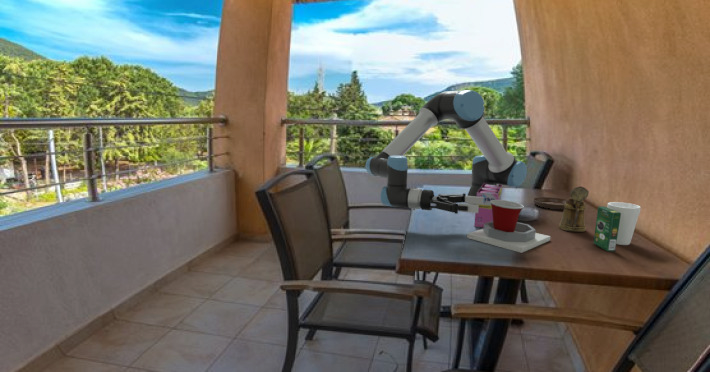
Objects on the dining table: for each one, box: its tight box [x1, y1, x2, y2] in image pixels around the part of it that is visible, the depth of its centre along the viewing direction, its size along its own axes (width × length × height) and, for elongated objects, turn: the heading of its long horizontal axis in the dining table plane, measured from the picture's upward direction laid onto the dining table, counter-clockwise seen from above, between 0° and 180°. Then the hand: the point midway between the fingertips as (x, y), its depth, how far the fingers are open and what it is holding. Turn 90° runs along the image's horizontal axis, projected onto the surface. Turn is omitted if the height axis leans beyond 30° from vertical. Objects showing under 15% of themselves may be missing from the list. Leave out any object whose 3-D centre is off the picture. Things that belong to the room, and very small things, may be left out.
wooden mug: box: [558, 186, 590, 233], centre depth 153 cm, size 9×14×18 cm, turn 160°
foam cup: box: [606, 201, 642, 246], centre depth 141 cm, size 10×9×13 cm
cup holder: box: [466, 221, 551, 253], centre depth 143 cm, size 20×20×4 cm
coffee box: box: [593, 206, 621, 253], centre depth 134 cm, size 8×3×13 cm, turn 2°
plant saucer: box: [532, 196, 567, 210], centre depth 195 cm, size 18×18×3 cm
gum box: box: [473, 183, 503, 228], centre depth 167 cm, size 24×8×14 cm, turn 156°
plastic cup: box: [490, 199, 525, 232], centre depth 140 cm, size 11×11×12 cm
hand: (481, 204), depth 145 cm, fingers open, 13 cm apart
